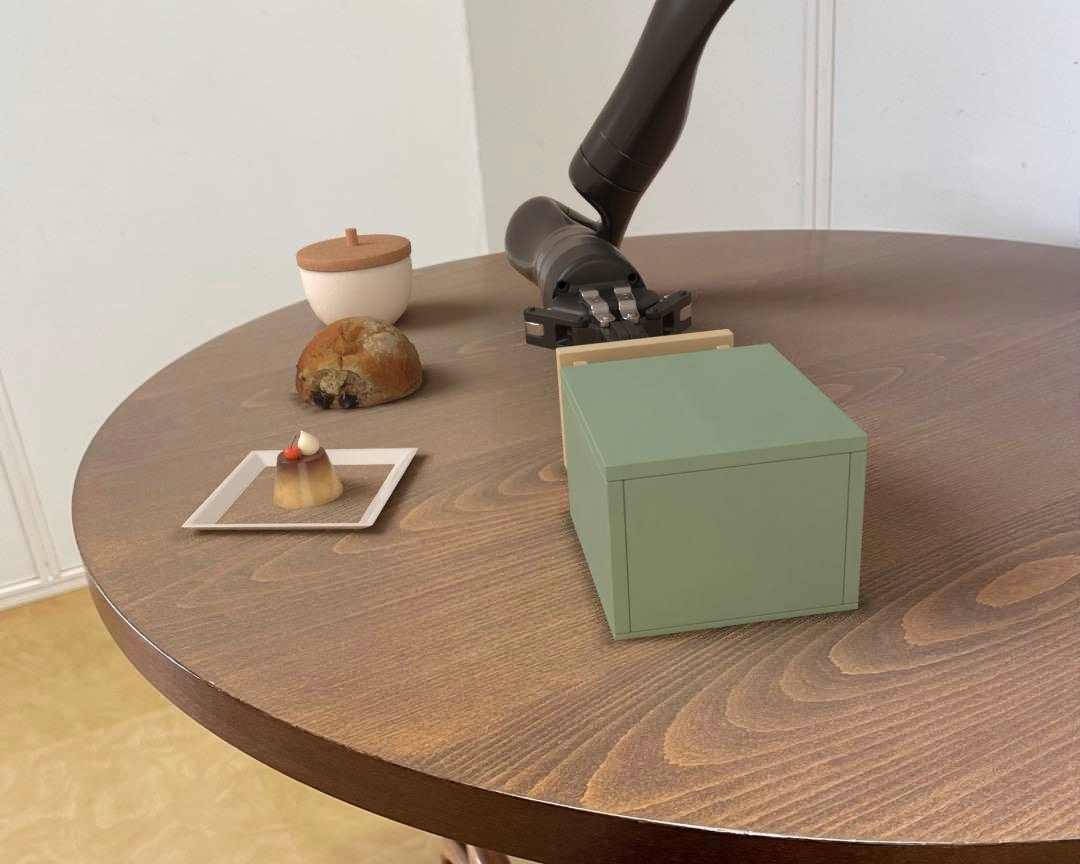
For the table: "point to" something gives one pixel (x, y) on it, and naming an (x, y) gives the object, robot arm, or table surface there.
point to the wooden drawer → (638, 352)
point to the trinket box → (357, 276)
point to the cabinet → (712, 490)
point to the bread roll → (357, 365)
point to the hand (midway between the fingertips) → (631, 352)
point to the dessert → (301, 483)
